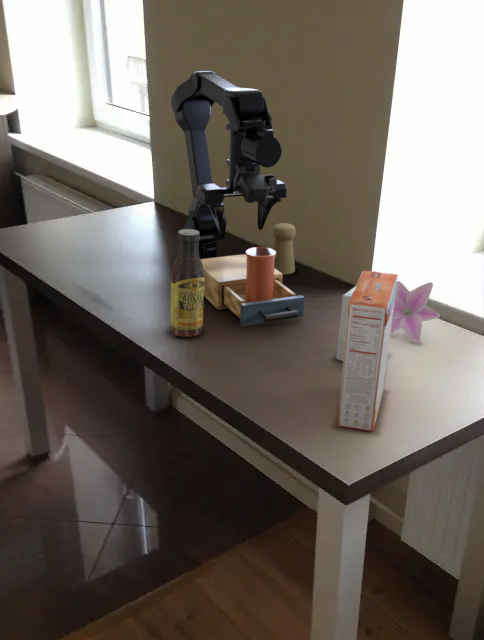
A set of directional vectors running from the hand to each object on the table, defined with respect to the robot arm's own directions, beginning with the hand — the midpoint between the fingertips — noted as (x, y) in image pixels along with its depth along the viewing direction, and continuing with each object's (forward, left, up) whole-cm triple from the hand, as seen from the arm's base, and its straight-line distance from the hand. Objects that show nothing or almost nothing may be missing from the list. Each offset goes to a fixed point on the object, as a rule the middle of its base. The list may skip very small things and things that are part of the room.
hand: (240, 231), depth 158 cm
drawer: (+15, -6, -12) cm, 20 cm away
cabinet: (+2, -2, -13) cm, 13 cm away
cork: (-4, +16, -13) cm, 21 cm away
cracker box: (+53, -17, -13) cm, 57 cm away
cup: (+13, -5, -11) cm, 18 cm away
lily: (+37, +12, -13) cm, 41 cm away
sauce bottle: (+12, -23, -13) cm, 29 cm away
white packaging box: (+40, -3, -13) cm, 42 cm away
